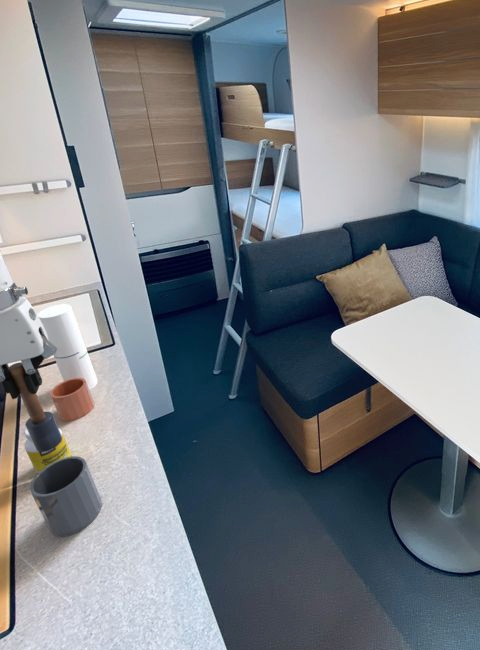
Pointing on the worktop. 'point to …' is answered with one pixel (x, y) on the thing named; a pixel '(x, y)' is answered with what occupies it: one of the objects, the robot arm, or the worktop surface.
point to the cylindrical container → (68, 343)
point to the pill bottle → (45, 453)
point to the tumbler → (66, 496)
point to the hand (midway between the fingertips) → (26, 390)
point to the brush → (36, 414)
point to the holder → (72, 399)
